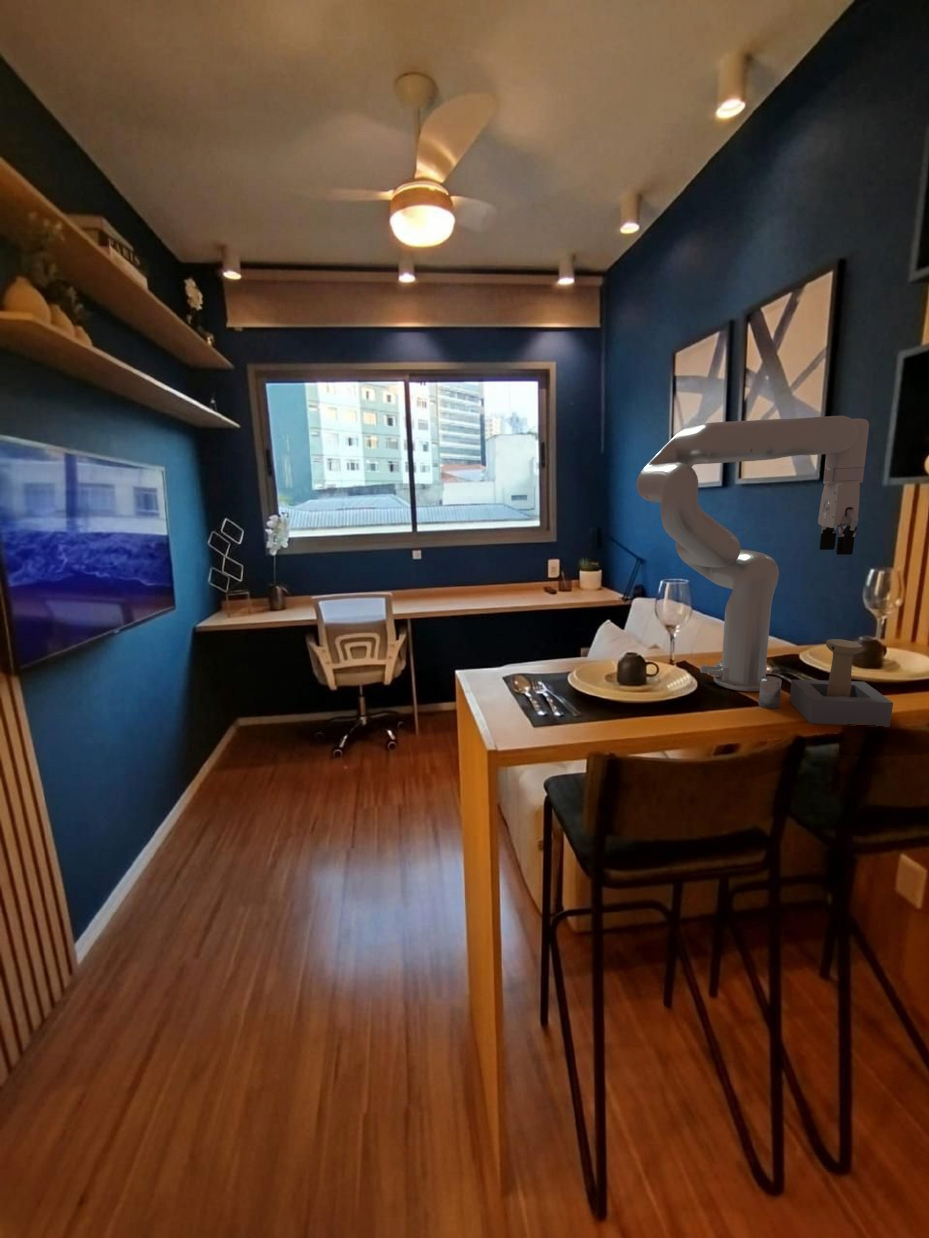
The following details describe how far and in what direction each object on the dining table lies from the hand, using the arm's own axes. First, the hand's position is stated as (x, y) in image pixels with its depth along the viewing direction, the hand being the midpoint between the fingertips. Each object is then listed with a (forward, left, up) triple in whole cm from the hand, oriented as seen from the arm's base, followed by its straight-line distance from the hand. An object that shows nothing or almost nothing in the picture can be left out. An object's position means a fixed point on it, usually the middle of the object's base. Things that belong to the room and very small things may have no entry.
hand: (835, 552), depth 132 cm
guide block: (-6, -25, -30) cm, 40 cm away
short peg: (-18, -22, -30) cm, 42 cm away
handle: (-6, -25, -31) cm, 40 cm away
